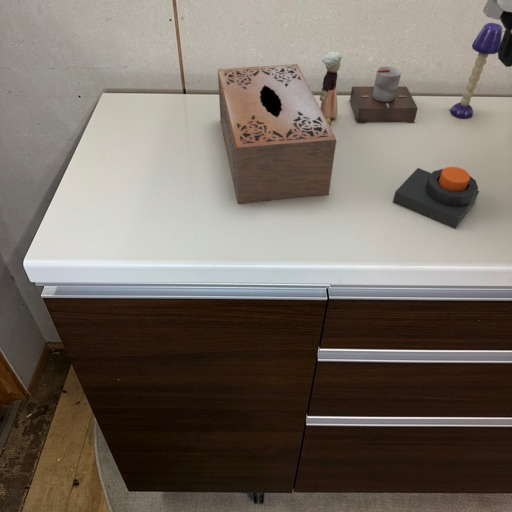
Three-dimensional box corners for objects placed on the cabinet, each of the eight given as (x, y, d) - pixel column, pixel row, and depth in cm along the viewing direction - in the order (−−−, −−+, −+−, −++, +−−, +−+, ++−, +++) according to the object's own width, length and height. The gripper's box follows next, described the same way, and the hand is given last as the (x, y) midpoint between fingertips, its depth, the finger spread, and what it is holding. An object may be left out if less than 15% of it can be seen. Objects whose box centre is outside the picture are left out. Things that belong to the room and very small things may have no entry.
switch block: (475, 201, 73) (484, 180, 71) (454, 229, 69) (463, 208, 66) (415, 177, 78) (421, 156, 75) (392, 202, 73) (397, 181, 70)
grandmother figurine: (334, 129, 89) (343, 61, 80) (314, 126, 89) (321, 59, 80) (338, 109, 94) (346, 44, 85) (318, 107, 94) (325, 42, 85)
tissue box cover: (328, 195, 74) (336, 139, 67) (237, 204, 73) (236, 147, 66) (294, 114, 92) (297, 64, 85) (220, 120, 91) (217, 69, 83)
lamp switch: (470, 182, 71) (474, 173, 69) (460, 195, 68) (464, 185, 67) (444, 173, 72) (448, 163, 71) (434, 185, 70) (437, 175, 69)
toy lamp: (477, 112, 93) (510, 23, 81) (471, 122, 90) (504, 32, 79) (453, 106, 95) (482, 18, 83) (446, 115, 92) (475, 26, 80)
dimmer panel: (403, 100, 97) (406, 85, 94) (414, 122, 90) (418, 107, 88) (349, 100, 97) (352, 85, 94) (356, 122, 90) (359, 107, 88)
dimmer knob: (390, 90, 93) (395, 63, 89) (399, 100, 90) (405, 73, 86) (369, 92, 92) (373, 65, 89) (377, 103, 89) (382, 75, 86)
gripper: (517, -102, 47) (462, 76, 60) (663, -105, 48) (577, 73, 61) (488, -114, 52) (443, 52, 66) (620, -117, 53) (549, 49, 66)
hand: (508, 62), depth 63 cm, fingers closed
